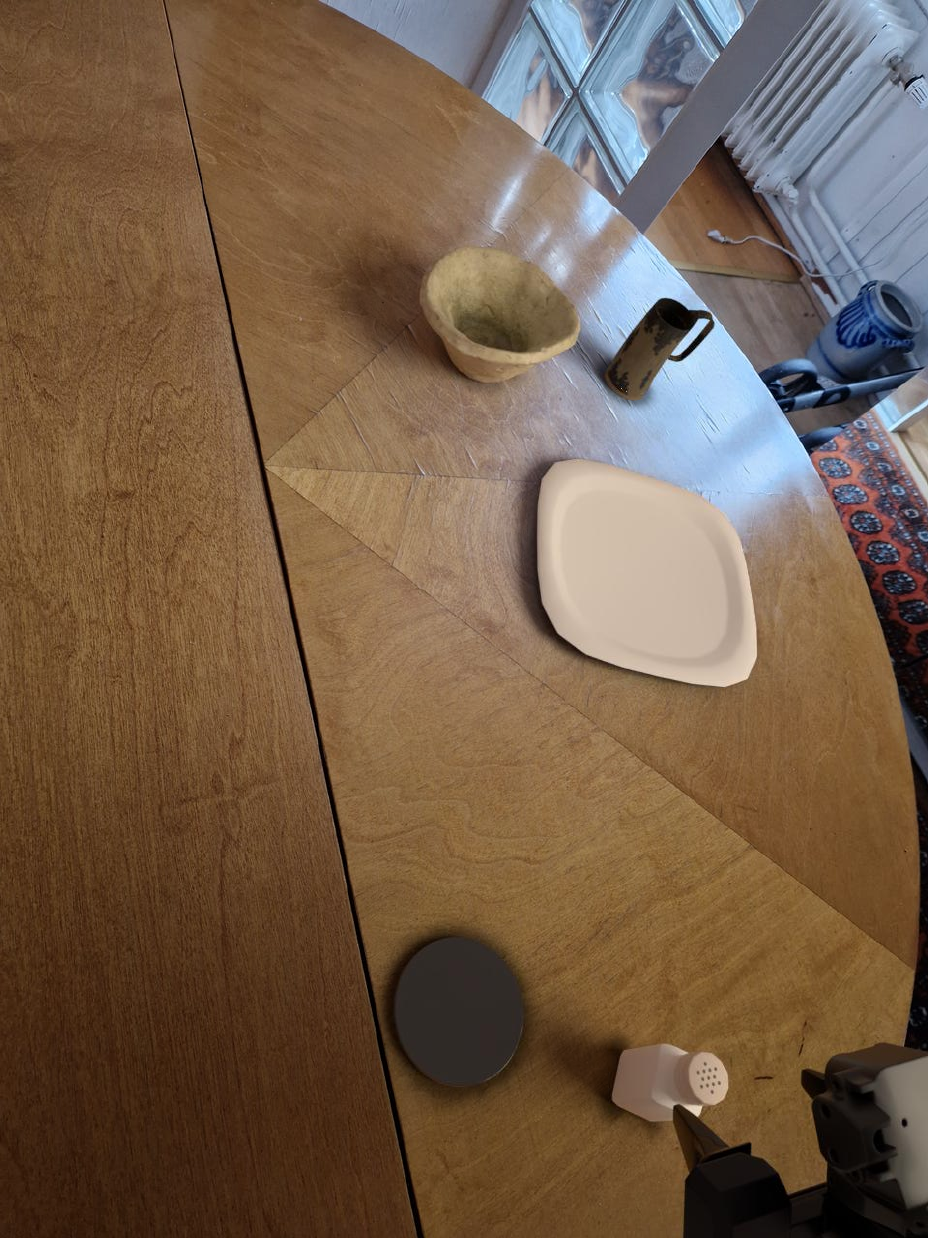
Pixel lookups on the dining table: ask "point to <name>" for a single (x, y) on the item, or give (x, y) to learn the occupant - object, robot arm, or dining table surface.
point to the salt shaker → (667, 1081)
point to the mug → (654, 346)
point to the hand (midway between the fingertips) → (741, 1093)
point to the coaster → (458, 1012)
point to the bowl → (496, 312)
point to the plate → (644, 575)
